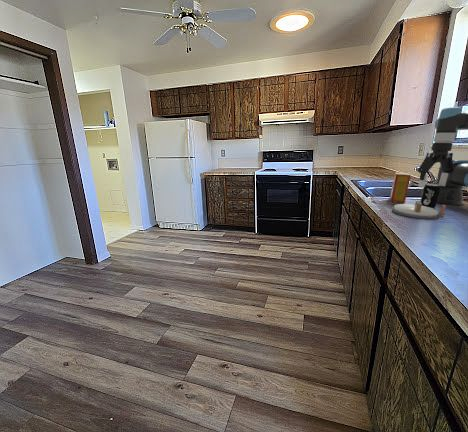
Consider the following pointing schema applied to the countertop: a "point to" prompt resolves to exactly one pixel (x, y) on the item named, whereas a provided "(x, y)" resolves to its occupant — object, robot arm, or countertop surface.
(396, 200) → the baking soda box
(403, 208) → the disc
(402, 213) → the base
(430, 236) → the countertop surface
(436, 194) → the beverage can
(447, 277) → the countertop surface
